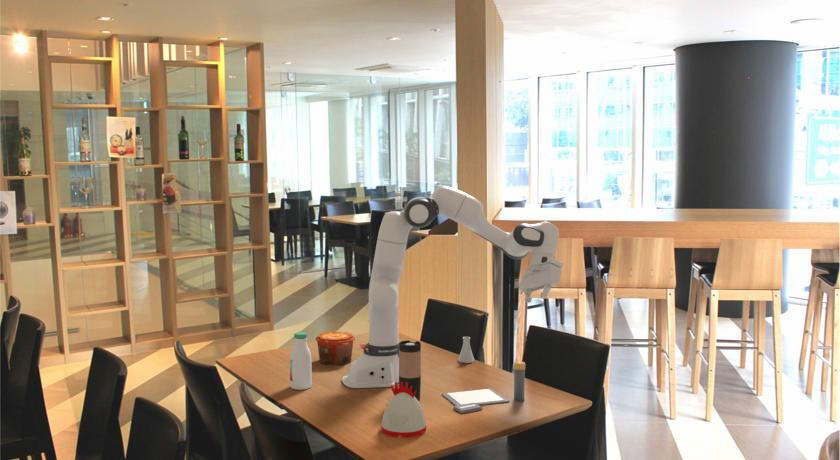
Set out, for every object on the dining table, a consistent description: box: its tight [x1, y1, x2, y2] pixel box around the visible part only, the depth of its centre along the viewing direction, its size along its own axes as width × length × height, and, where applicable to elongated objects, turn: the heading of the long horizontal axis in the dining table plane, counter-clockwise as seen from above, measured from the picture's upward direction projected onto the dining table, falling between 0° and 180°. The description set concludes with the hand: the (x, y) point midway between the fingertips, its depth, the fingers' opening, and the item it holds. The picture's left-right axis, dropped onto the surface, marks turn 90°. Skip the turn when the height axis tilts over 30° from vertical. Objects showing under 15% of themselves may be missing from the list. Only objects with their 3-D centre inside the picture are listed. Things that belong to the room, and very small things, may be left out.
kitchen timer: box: [380, 382, 427, 439], centre depth 236 cm, size 14×14×15 cm
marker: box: [513, 361, 526, 402], centre depth 265 cm, size 4×4×13 cm
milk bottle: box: [289, 331, 313, 391], centre depth 278 cm, size 8×8×20 cm
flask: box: [457, 336, 476, 364], centre depth 315 cm, size 7×7×10 cm
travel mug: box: [398, 340, 422, 401], centre depth 264 cm, size 8×8×20 cm
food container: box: [315, 331, 356, 366], centre depth 314 cm, size 16×16×11 cm
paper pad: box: [441, 388, 510, 406], centre depth 267 cm, size 19×15×1 cm
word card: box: [453, 403, 483, 414], centre depth 255 cm, size 8×5×1 cm, turn 119°
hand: (535, 300), depth 274 cm, fingers open, 8 cm apart
